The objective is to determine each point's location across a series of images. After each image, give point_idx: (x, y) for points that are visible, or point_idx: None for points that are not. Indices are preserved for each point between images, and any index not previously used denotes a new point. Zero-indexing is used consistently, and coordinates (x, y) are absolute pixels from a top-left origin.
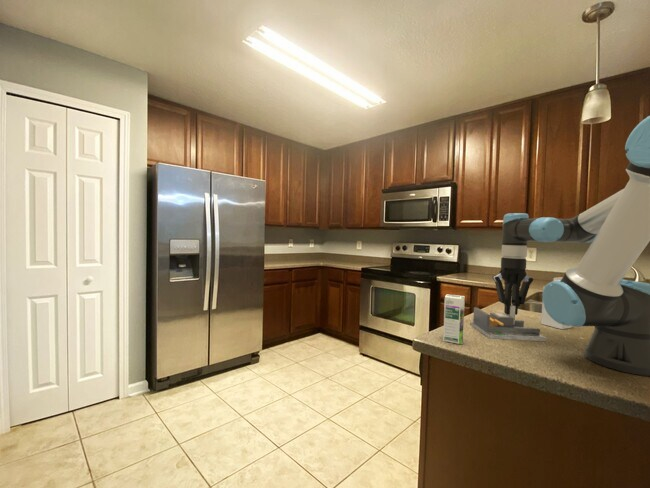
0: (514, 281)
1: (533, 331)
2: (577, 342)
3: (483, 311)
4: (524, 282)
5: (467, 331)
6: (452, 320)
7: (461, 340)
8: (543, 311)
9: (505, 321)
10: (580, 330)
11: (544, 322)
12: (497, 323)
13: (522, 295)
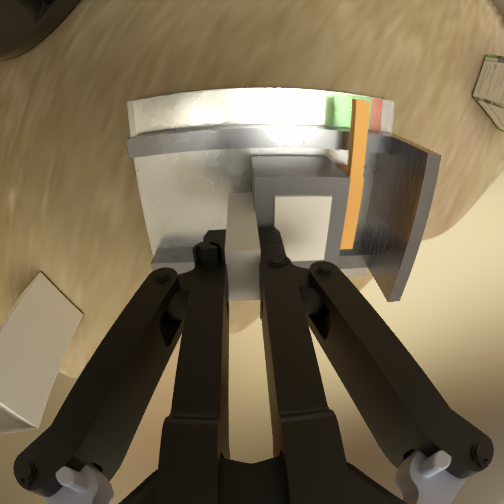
0: (247, 490)
1: (161, 133)
2: (31, 139)
3: (412, 229)
4: (102, 464)
5: None
6: None
7: (496, 56)
8: (63, 344)
9: (302, 168)
10: (8, 273)
11: (73, 312)
12: None
13: (148, 330)
